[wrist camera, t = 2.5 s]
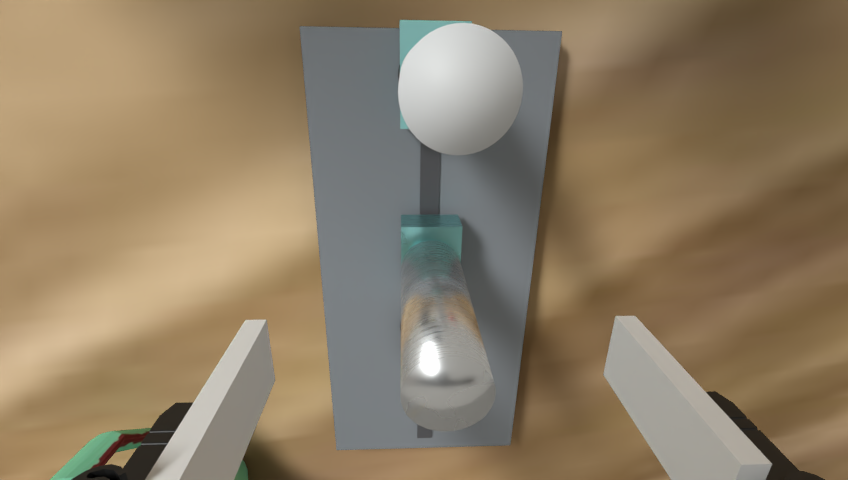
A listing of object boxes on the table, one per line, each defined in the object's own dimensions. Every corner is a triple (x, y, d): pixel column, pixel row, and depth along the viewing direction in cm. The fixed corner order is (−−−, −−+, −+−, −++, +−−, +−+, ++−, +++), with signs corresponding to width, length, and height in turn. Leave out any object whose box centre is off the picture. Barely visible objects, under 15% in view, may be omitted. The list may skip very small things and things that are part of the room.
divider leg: (401, 214, 23) (400, 338, 13) (458, 214, 23) (501, 336, 13) (401, 288, 24) (400, 448, 14) (454, 288, 24) (490, 445, 14)
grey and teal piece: (306, 23, 21) (185, -20, 9) (552, 28, 21) (728, -7, 10) (339, 432, 31) (302, 655, 19) (505, 428, 31) (565, 641, 20)
